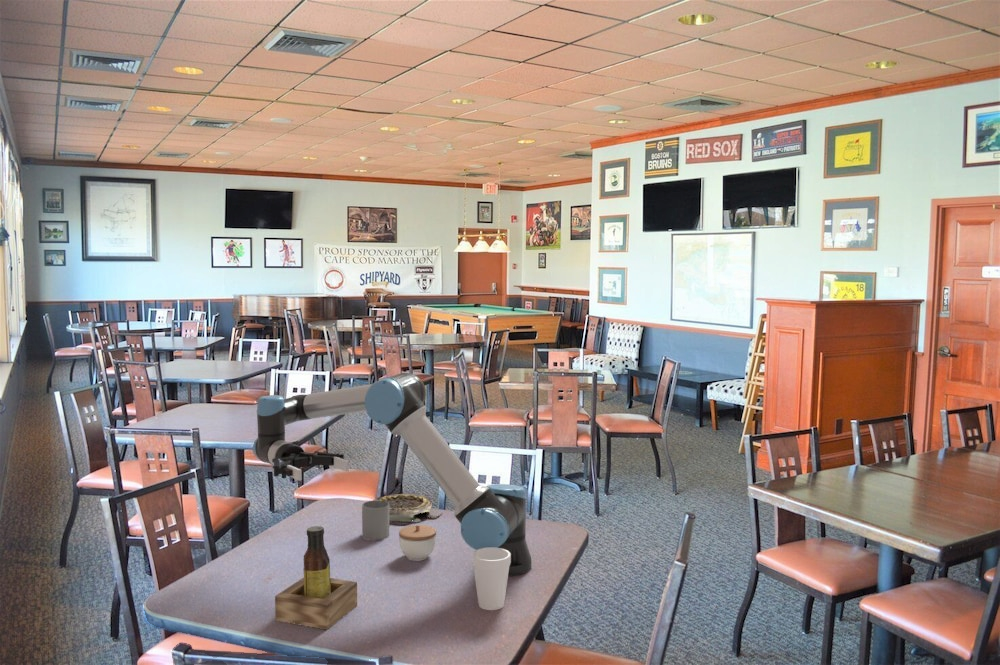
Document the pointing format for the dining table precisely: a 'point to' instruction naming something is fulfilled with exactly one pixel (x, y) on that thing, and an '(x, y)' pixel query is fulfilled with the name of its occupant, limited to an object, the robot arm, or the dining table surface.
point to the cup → (375, 520)
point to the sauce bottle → (316, 565)
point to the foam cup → (491, 576)
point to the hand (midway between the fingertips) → (324, 470)
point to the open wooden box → (316, 604)
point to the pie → (407, 507)
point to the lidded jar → (417, 541)
